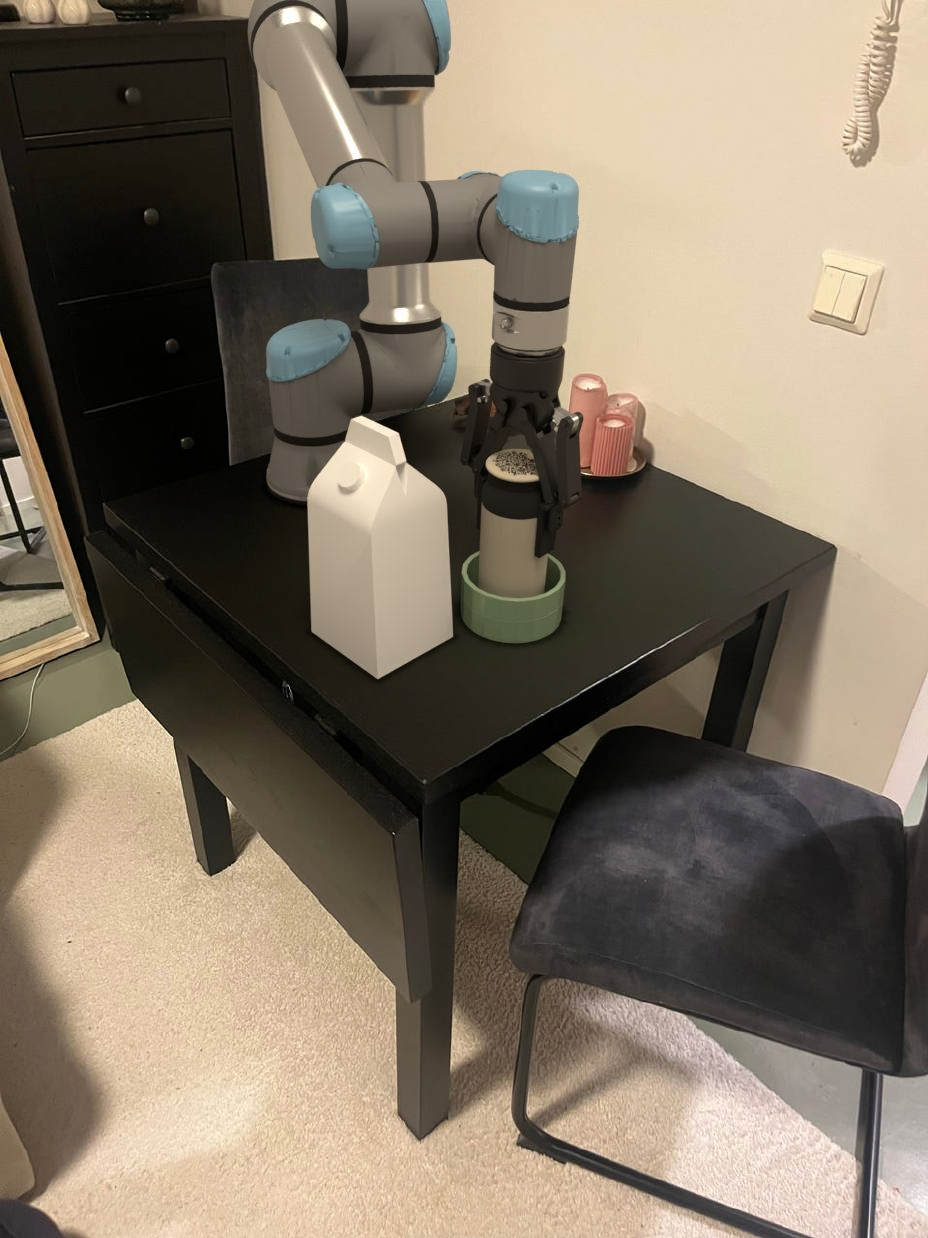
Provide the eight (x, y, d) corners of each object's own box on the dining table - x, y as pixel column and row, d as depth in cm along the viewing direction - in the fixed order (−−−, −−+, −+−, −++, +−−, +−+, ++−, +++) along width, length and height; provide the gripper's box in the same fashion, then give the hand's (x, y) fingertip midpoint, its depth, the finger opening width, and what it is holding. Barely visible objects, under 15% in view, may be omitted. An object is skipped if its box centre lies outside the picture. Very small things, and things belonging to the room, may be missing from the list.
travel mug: (486, 621, 105) (494, 482, 94) (470, 584, 111) (475, 450, 100) (552, 613, 106) (566, 476, 96) (532, 577, 113) (543, 444, 102)
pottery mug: (455, 449, 148) (445, 399, 147) (463, 451, 158) (454, 404, 157) (526, 434, 147) (517, 383, 146) (530, 437, 156) (521, 389, 155)
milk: (453, 636, 105) (457, 428, 90) (377, 679, 99) (368, 462, 84) (386, 594, 112) (379, 394, 97) (311, 631, 106) (291, 423, 90)
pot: (440, 613, 109) (440, 572, 106) (505, 575, 117) (507, 534, 113) (517, 656, 103) (520, 613, 99) (581, 612, 110) (586, 571, 107)
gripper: (427, 326, 94) (427, 518, 107) (590, 381, 83) (567, 587, 96) (475, 311, 98) (469, 496, 112) (636, 361, 87) (607, 560, 101)
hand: (514, 538), depth 104 cm, fingers closed on travel mug, 8 cm apart
